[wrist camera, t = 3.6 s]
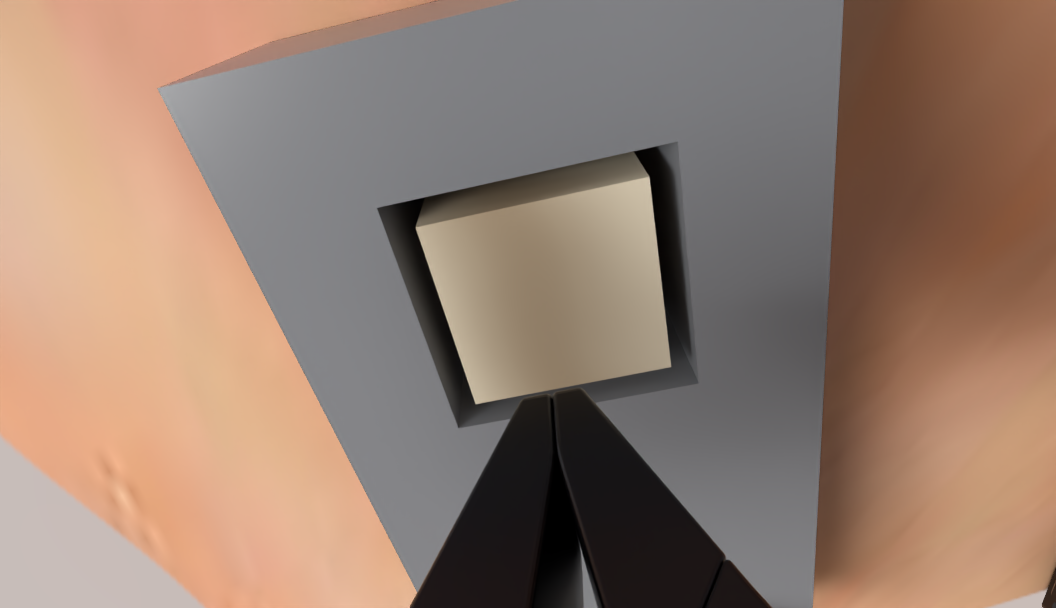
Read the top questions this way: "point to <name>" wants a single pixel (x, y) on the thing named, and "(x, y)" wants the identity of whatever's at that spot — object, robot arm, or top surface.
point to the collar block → (525, 148)
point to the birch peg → (550, 277)
